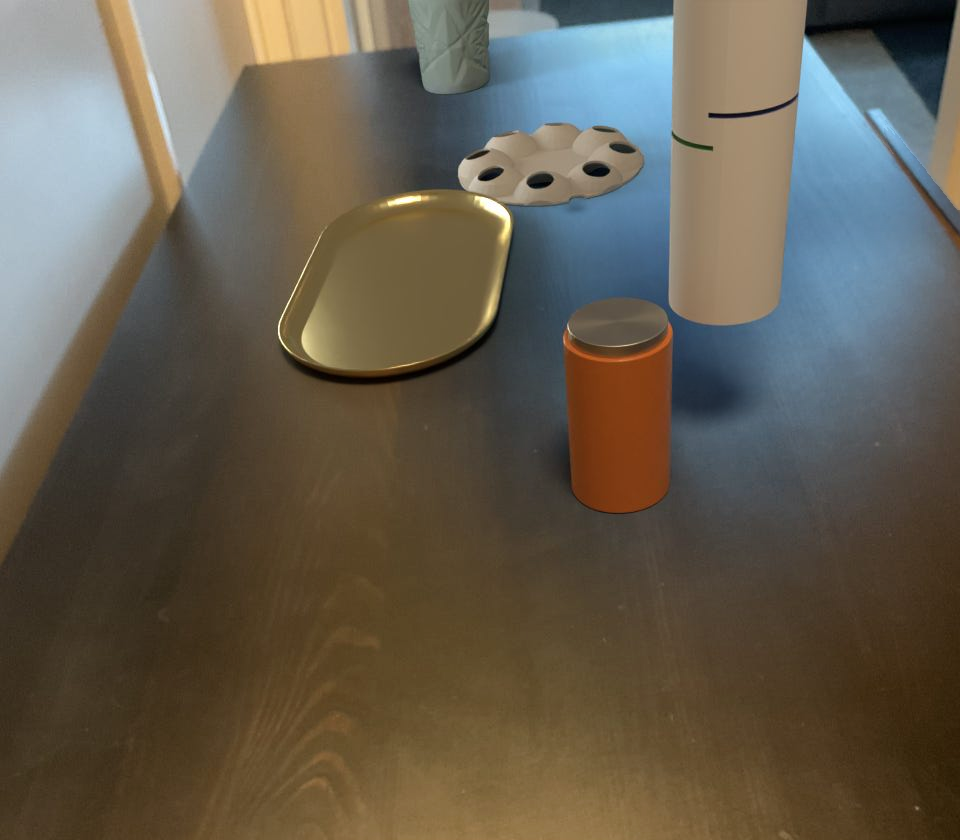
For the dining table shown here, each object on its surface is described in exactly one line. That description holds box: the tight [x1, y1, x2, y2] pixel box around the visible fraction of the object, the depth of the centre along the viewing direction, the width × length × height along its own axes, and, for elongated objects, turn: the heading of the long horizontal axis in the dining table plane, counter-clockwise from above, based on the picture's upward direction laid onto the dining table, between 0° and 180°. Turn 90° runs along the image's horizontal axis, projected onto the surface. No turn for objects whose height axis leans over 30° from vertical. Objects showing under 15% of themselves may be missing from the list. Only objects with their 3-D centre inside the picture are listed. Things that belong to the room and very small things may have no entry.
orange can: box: [563, 297, 674, 514], centre depth 69 cm, size 7×7×12 cm
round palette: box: [457, 122, 645, 207], centre depth 114 cm, size 20×20×2 cm
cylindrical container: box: [668, 0, 808, 326], centre depth 62 cm, size 7×7×25 cm
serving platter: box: [277, 188, 515, 379], centre depth 97 cm, size 19×35×2 cm, turn 174°
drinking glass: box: [407, 0, 490, 95], centre depth 133 cm, size 10×10×12 cm
